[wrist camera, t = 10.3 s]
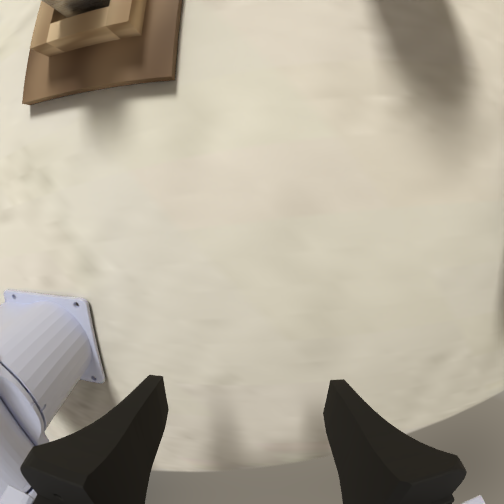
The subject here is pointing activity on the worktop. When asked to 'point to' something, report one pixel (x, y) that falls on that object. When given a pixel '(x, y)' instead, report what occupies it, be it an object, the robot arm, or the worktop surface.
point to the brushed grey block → (76, 6)
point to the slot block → (102, 48)
